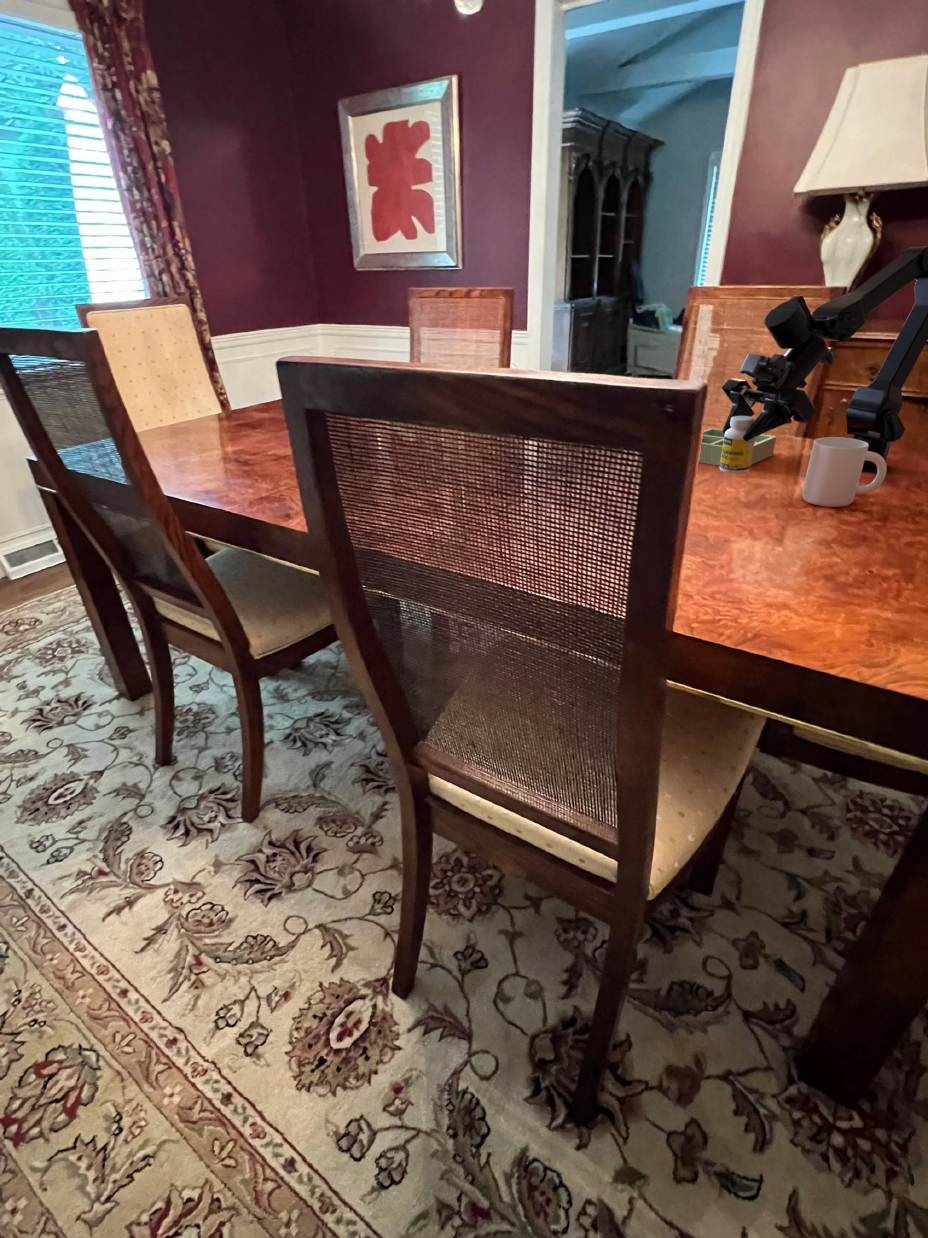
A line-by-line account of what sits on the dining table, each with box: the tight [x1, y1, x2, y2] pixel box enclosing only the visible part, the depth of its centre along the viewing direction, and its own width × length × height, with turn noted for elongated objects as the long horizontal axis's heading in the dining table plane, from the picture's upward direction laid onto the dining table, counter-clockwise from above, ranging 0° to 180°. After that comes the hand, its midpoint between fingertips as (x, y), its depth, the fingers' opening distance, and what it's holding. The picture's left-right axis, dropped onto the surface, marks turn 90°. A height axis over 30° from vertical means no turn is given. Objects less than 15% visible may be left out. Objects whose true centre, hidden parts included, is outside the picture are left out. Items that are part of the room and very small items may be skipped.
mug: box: [801, 436, 888, 508], centre depth 108 cm, size 12×8×10 cm
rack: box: [698, 427, 777, 467], centre depth 139 cm, size 15×15×4 cm
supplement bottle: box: [719, 416, 755, 475], centre depth 116 cm, size 5×5×10 cm
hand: (733, 436), depth 115 cm, fingers closed on supplement bottle, 5 cm apart
